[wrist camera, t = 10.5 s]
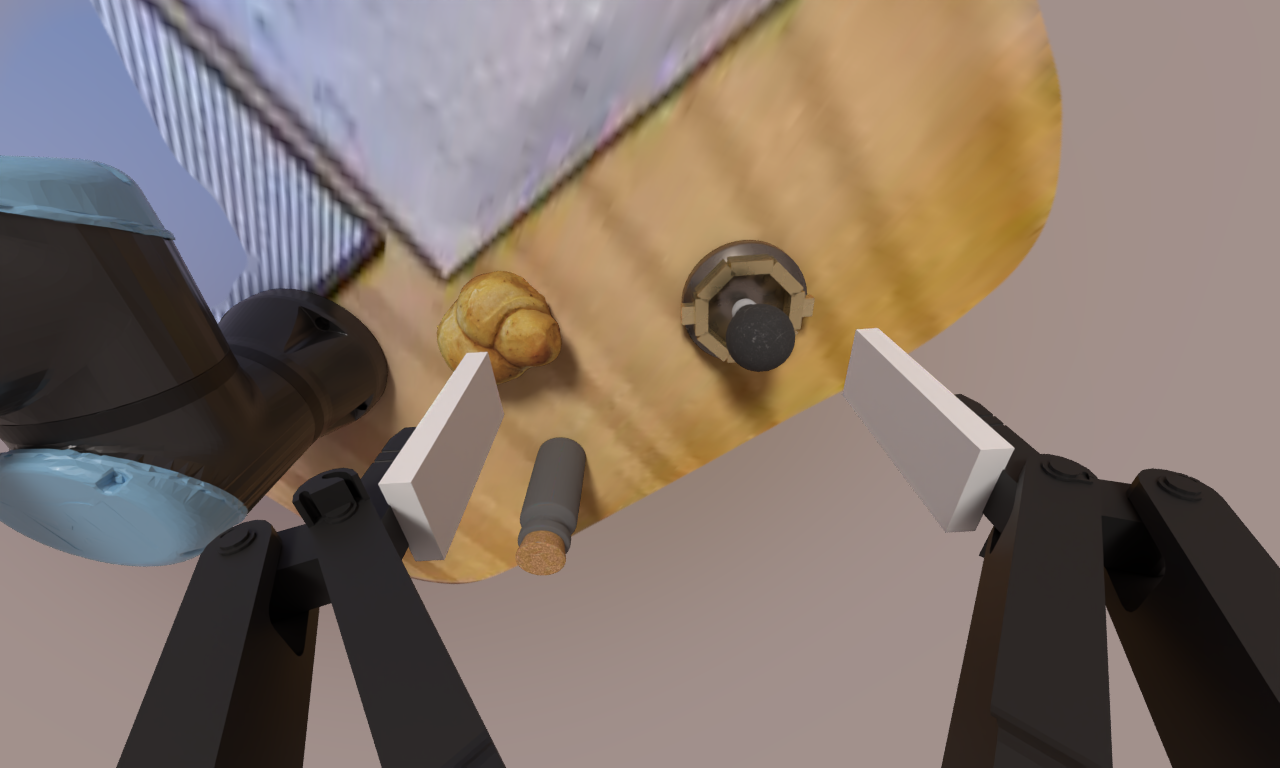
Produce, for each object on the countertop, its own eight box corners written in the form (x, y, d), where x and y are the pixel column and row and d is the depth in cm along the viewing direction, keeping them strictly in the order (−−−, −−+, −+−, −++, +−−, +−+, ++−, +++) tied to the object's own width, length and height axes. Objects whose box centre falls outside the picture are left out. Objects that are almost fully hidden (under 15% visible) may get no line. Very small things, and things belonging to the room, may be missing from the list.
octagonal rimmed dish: (680, 358, 48) (683, 374, 45) (678, 244, 42) (681, 254, 39) (796, 350, 48) (807, 366, 45) (811, 235, 42) (825, 244, 39)
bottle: (542, 474, 57) (515, 581, 44) (534, 437, 54) (503, 540, 41) (588, 472, 57) (575, 578, 44) (583, 435, 54) (567, 537, 41)
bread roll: (490, 386, 50) (468, 430, 43) (420, 322, 46) (382, 359, 39) (578, 321, 46) (568, 358, 39) (509, 244, 42) (485, 270, 35)
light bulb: (702, 315, 44) (717, 363, 36) (738, 268, 42) (764, 306, 33) (746, 343, 46) (772, 395, 37) (783, 298, 43) (820, 343, 35)
